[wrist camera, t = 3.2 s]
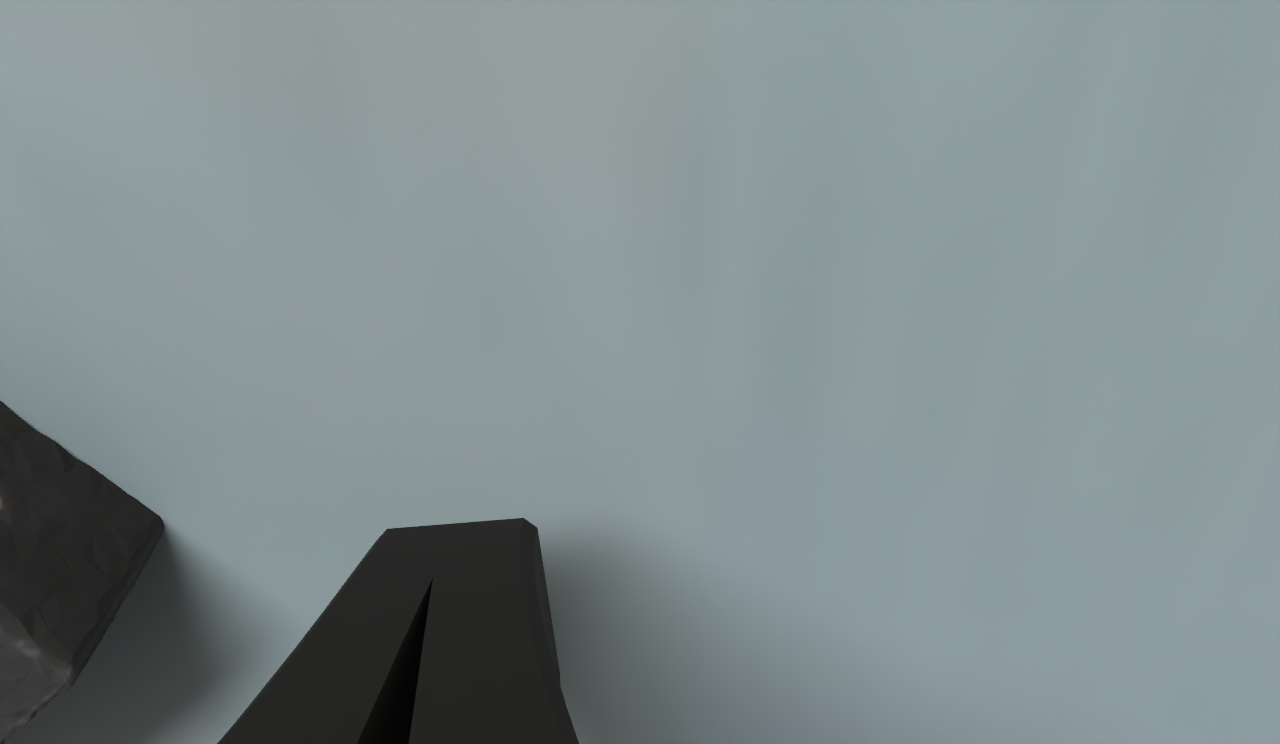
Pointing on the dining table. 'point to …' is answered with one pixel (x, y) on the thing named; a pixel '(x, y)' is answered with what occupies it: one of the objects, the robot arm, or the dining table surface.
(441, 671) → the robot arm
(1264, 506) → the dining table surface
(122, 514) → the disk drive
